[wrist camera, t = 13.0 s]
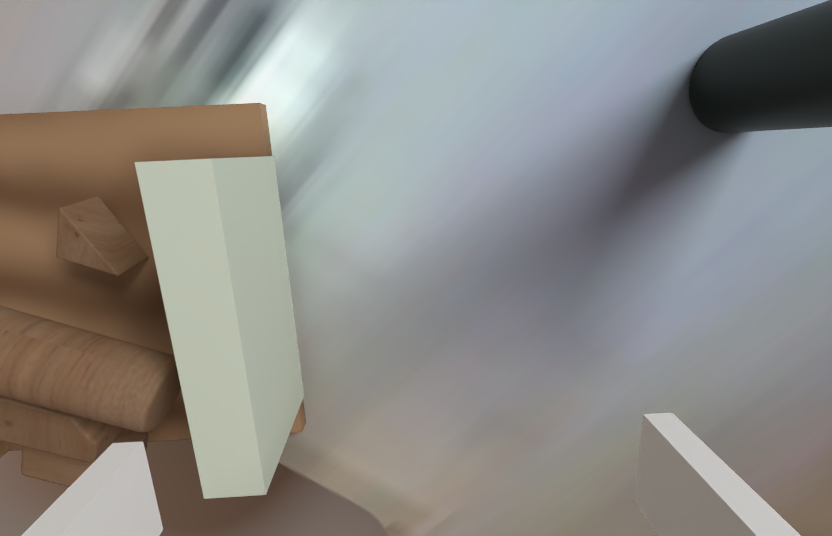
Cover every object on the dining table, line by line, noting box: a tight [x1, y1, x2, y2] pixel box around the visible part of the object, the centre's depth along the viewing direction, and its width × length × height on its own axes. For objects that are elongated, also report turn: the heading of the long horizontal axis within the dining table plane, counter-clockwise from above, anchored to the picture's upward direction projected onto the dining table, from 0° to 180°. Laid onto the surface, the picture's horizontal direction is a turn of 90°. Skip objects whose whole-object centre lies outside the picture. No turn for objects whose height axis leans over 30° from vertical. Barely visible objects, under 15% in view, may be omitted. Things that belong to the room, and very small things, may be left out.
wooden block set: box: [0, 196, 181, 487], centre depth 26 cm, size 18×9×10 cm
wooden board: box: [0, 103, 306, 457], centre depth 27 cm, size 22×22×4 cm
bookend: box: [135, 156, 304, 499], centre depth 24 cm, size 16×3×9 cm, turn 3°
